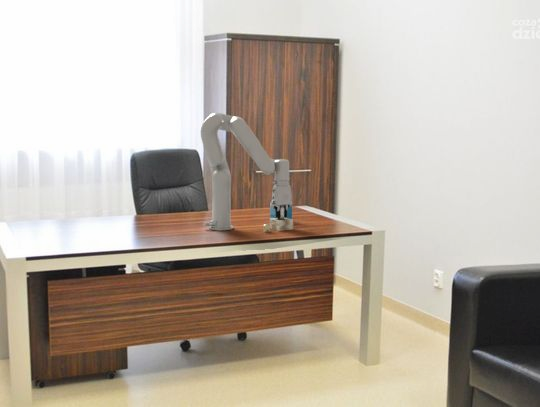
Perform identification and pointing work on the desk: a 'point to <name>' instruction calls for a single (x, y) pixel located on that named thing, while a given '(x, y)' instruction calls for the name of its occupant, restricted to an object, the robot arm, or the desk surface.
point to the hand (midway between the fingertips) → (281, 217)
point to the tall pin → (281, 212)
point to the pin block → (281, 224)
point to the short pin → (266, 228)
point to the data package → (273, 212)
